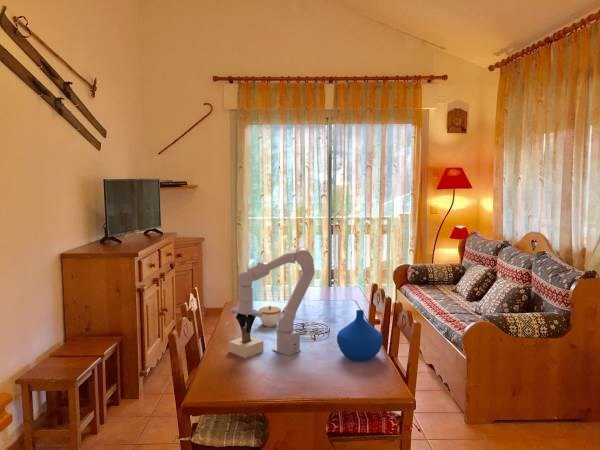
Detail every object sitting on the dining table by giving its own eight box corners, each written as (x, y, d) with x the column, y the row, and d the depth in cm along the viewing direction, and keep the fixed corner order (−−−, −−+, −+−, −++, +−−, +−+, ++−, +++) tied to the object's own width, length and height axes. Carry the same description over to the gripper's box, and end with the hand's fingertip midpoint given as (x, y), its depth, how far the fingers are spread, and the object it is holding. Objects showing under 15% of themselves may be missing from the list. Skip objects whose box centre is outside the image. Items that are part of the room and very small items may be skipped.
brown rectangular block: (250, 341, 198) (250, 325, 197) (246, 344, 195) (245, 328, 194) (246, 340, 199) (246, 324, 198) (242, 343, 196) (241, 327, 195)
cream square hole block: (263, 351, 198) (263, 340, 197) (245, 358, 190) (245, 347, 190) (247, 345, 204) (247, 335, 204) (229, 352, 197) (229, 341, 197)
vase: (344, 367, 181) (344, 319, 179) (331, 350, 199) (331, 306, 197) (389, 364, 184) (390, 316, 182) (373, 347, 202) (373, 303, 200)
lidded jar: (255, 326, 231) (254, 307, 230) (266, 320, 241) (266, 302, 240) (273, 329, 226) (273, 310, 226) (284, 323, 236) (284, 304, 235)
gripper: (265, 299, 196) (266, 331, 197) (236, 295, 202) (236, 326, 203) (257, 303, 189) (257, 336, 191) (226, 299, 195) (227, 331, 197)
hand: (246, 331), depth 197 cm, fingers closed on brown rectangular block, 2 cm apart
